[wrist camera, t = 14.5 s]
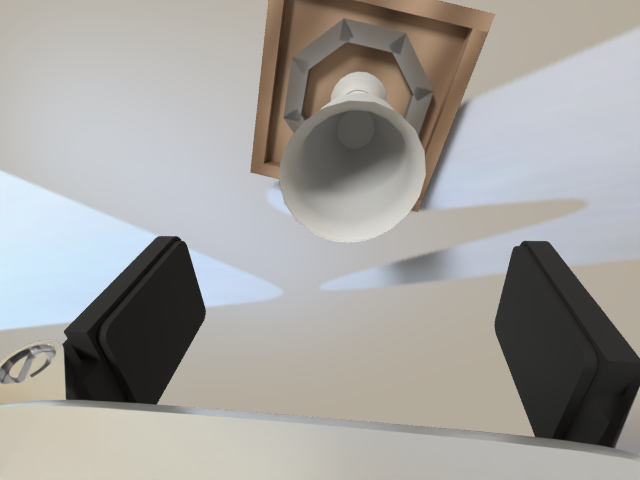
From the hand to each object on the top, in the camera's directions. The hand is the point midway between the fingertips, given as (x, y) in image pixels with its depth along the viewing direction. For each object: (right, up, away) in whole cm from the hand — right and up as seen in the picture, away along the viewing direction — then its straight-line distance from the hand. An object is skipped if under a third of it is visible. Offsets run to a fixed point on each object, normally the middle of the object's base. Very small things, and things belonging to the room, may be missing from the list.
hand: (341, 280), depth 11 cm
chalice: (+3, +14, +22) cm, 26 cm away
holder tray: (+3, +14, +23) cm, 27 cm away
